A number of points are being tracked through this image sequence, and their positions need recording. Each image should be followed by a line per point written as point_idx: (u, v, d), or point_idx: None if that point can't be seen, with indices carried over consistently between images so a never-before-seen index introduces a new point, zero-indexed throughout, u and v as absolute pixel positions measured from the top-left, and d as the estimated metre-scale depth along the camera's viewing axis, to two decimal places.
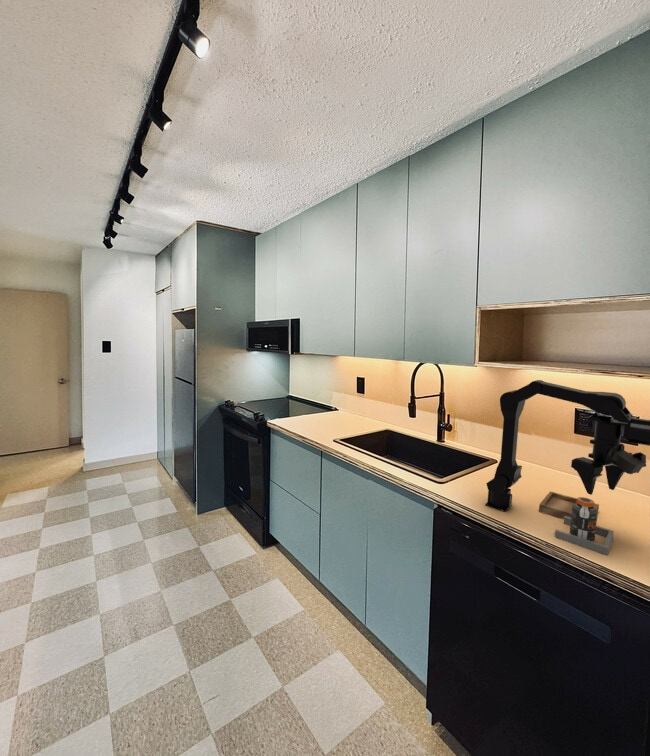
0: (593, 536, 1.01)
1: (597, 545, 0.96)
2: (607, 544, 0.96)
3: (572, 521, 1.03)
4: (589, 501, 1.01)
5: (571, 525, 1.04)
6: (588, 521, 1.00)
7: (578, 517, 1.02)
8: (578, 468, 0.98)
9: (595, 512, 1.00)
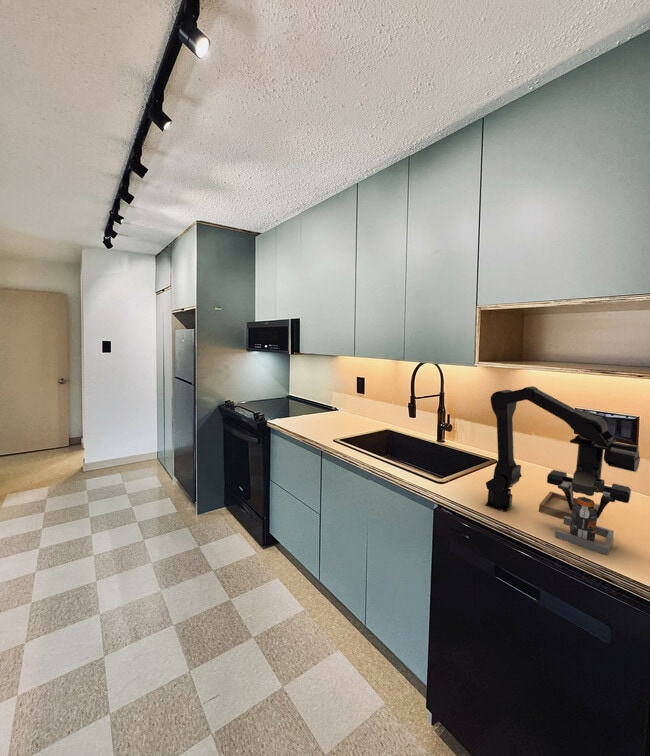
0: (593, 536, 1.01)
1: (597, 545, 0.96)
2: (607, 544, 0.96)
3: (572, 521, 1.03)
4: (589, 501, 1.01)
5: (571, 525, 1.04)
6: (588, 521, 1.00)
7: (578, 517, 1.02)
8: None
9: (595, 512, 1.00)
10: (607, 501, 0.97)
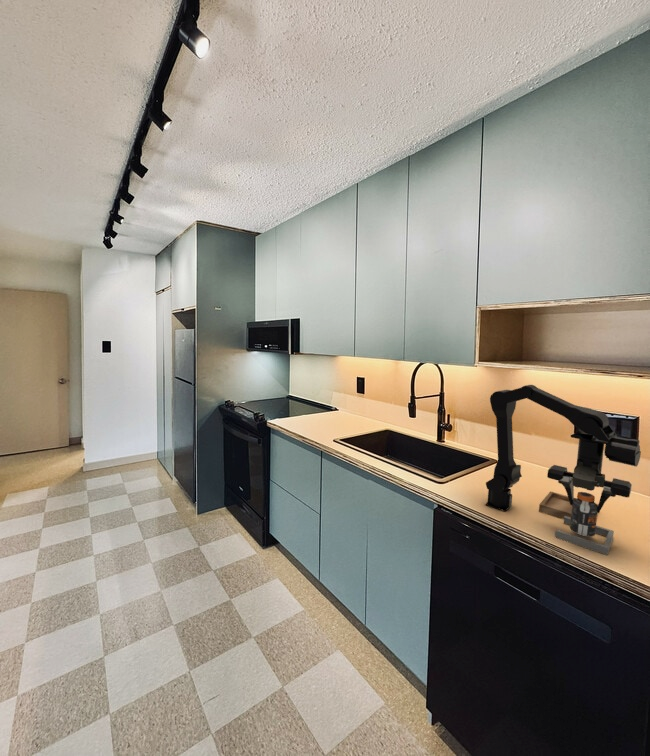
0: (593, 531, 1.01)
1: (597, 545, 0.96)
2: (607, 544, 0.96)
3: (572, 516, 1.03)
4: (589, 496, 1.01)
5: (571, 520, 1.04)
6: (589, 515, 1.00)
7: (578, 512, 1.01)
8: None
9: (595, 507, 1.00)
10: (607, 496, 0.97)
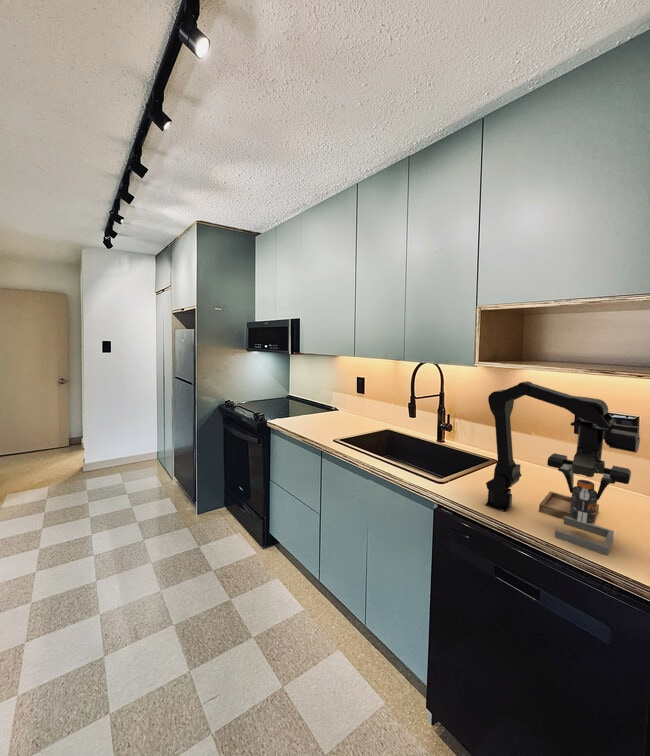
0: (593, 518, 1.01)
1: (597, 545, 0.96)
2: (607, 544, 0.96)
3: (572, 503, 1.04)
4: (589, 483, 1.02)
5: (571, 507, 1.04)
6: (588, 502, 1.00)
7: (578, 499, 1.02)
8: None
9: (595, 494, 1.01)
10: (607, 483, 0.97)
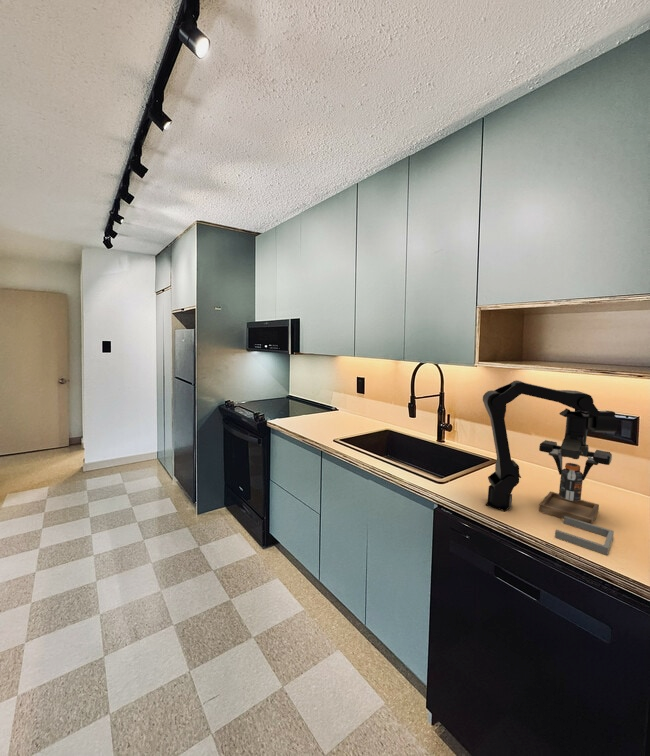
0: (579, 496, 1.15)
1: (597, 545, 0.96)
2: (607, 544, 0.96)
3: (561, 484, 1.18)
4: (576, 465, 1.15)
5: (560, 487, 1.18)
6: (575, 482, 1.14)
7: (566, 480, 1.16)
8: None
9: (581, 475, 1.14)
10: (591, 465, 1.11)
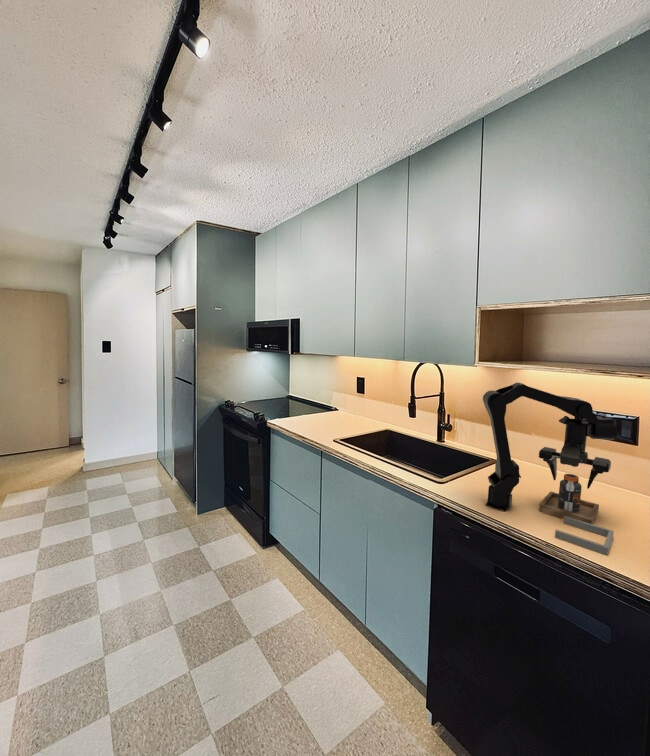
0: (578, 507, 1.16)
1: (597, 545, 0.96)
2: (607, 544, 0.96)
3: (560, 495, 1.18)
4: (574, 477, 1.16)
5: (559, 498, 1.19)
6: (573, 493, 1.15)
7: (564, 491, 1.16)
8: None
9: (579, 486, 1.15)
10: (596, 473, 1.10)
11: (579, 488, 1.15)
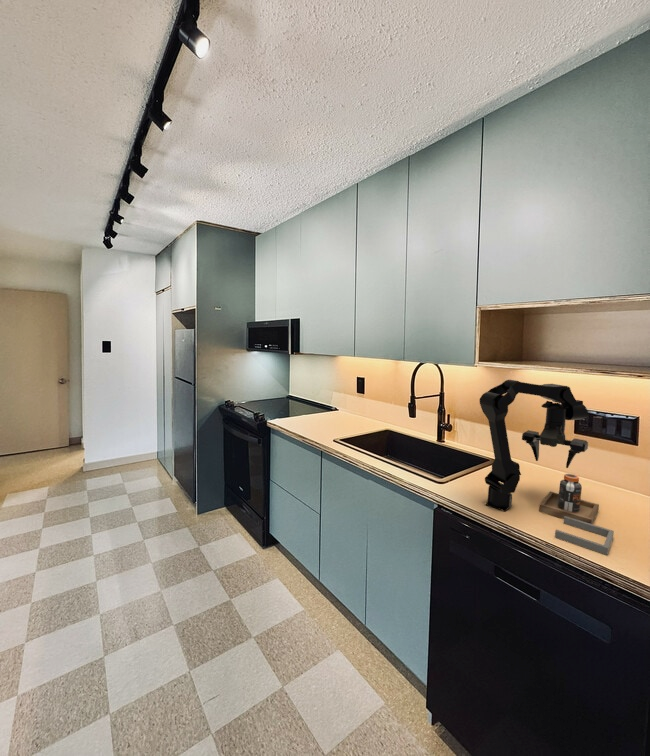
0: (578, 507, 1.16)
1: (597, 545, 0.96)
2: (607, 544, 0.96)
3: (560, 495, 1.18)
4: (574, 477, 1.16)
5: (559, 498, 1.19)
6: (573, 494, 1.15)
7: (564, 491, 1.16)
8: None
9: (579, 486, 1.15)
10: (573, 453, 1.18)
11: (579, 488, 1.15)
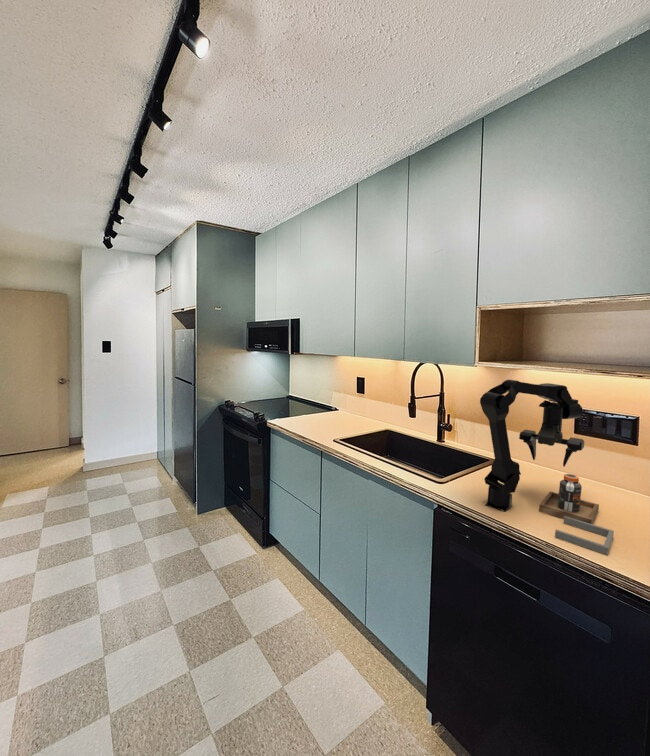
0: (578, 507, 1.16)
1: (597, 545, 0.96)
2: (607, 544, 0.96)
3: (560, 495, 1.18)
4: (574, 477, 1.16)
5: (559, 498, 1.19)
6: (573, 494, 1.15)
7: (564, 491, 1.16)
8: None
9: (579, 486, 1.15)
10: (570, 452, 1.20)
11: (579, 488, 1.15)
